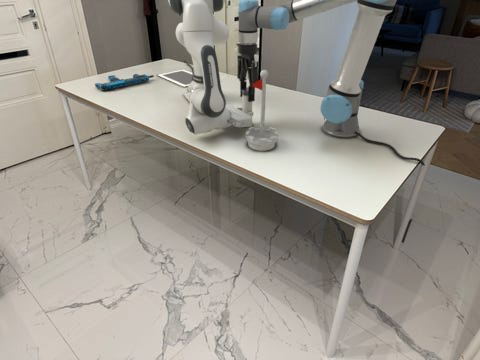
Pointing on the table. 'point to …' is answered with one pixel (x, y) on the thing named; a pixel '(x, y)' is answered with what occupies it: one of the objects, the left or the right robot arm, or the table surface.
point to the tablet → (178, 77)
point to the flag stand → (262, 123)
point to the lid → (245, 91)
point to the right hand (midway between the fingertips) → (247, 98)
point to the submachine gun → (122, 81)
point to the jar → (246, 106)
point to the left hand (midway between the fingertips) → (248, 111)
